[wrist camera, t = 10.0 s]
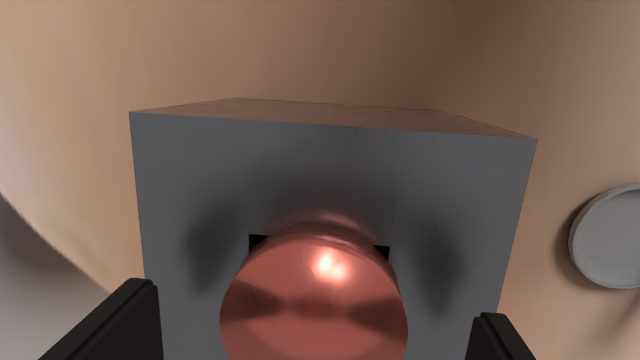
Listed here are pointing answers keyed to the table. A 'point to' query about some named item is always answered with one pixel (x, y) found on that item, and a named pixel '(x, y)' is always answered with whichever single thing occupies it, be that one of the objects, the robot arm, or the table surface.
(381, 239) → the block
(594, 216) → the pocket watch
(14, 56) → the table surface
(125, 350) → the robot arm
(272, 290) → the lynch pin
